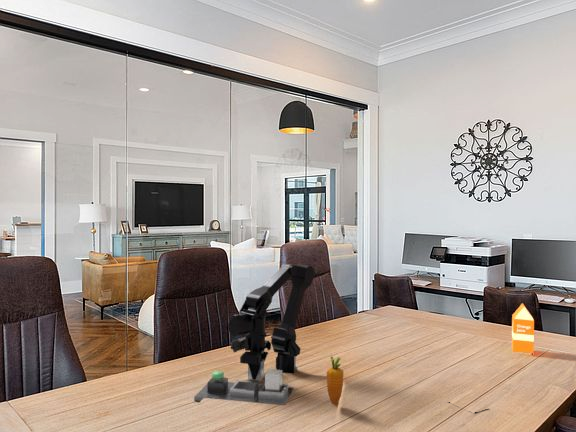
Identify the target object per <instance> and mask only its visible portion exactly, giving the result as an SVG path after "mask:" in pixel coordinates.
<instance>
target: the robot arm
mask: <svg viewBox="0 0 576 432" xmlns="http://www.w3.org/2000/svg"><path fill="white" fill-rule="evenodd" d="M315 275H316V271H315V270H314V267H313V266H312V265H306V264H291V263H283V264H282V265H281V266H280V267H279V269H278V270H277V271H276V272H275V273H274V274H273V275H272V276H271V277H270V278H269V279H267V281H266V282H265V283H264V284H263V285H262V286H260V287H258V288H256V289H254V290H253V291H251V292H249V293H248V294H247V295H246V297H245V300H244V301H243V304H242V306H241V308H240V309H239V312H238V313H239V314H235V313H234V314H232V318H231V319H230V320H229V321H228V324H227V325H228V328H227V329H228V332H229V334H230V335H231V336H233V337H238V336H242V335H245V336H244V337H241V338H237V339H233V340H232V341H231V343H230V349H231V350H232V351H233V353H237V352H238V351H242V350H244V351H245V352H243V353H242V354H241V355H240V356H239V363H240V364H245V365H246V364H247V366H248V365H249V368H250V371H251V375H252V379H256V377H257V375H258V372H259V369H260V366H261V364H262V361H263V360H261V359H264V363H265V361H266V359H267V357H268V354H269V351H271V349H273V352H274V353H277V356H276V358H275V370H282V374H295V373H296V370H297V366H296V365H297V364H296V363H297V357H298V355H300V354H301V350H302V348H301V347H300V346H299V345H298V344H297V342H296V340H297V334H296V333H297V332H296V328H295V327H296V324H297V320H298V317H299V313H300V310H301V307H302V303H303V299H304V296H305V292H306V290H307V289H308V288H309V287H310V286H311V285H312V283H313V281H314V278H315ZM289 280H290V281H291V285H292V287H291V290H290V294H289V297H288V301H287V304H286V308H285V310H284V314H283V316H282V320H281V324H280V325H279V326H277V327H276V326H275V327H274V328H273V330H272V335H271V336H270V339H271V341H270V340H266V336H267V332H266V317H269V316H271V314H270V313H269V312H268V311H267V309H269V307H270V306H271V303H272V302H273V297H274V295H275V294H276V293H278V291H279V290H280V289H281V288H282V287H283V286H284V285H286V283H287V282H288V281H289ZM266 349H267V351H265V350H266Z"/></svg>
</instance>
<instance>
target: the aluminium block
mask: <svg viewBox="0 0 576 432" xmlns="http://www.w3.org/2000/svg"><path fill="white" fill-rule="evenodd" d="M261 360H263V361H262V364H261V366H260V369H259V372H258V375H257V377H256V379H252V375H251V371H250V368H249V365H248V364H247V381H258V382H261V381H262V380H263V378H265V362H264V359H261Z"/></svg>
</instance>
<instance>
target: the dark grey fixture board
mask: <svg viewBox="0 0 576 432" xmlns="http://www.w3.org/2000/svg"><path fill="white" fill-rule="evenodd" d="M293 390H294V387H292V386H289V384H283V383H282V392H269V391H265V382H264V383H263V384H261V381H251V380H236V381H235V382H230V381H229V378H228V377H224V378H223V379H220V380H214V379H212V377H211V378H210V379H209V380H207V383H206V384H205V386H203V387H202V389H200V390H199V392H197V393H196V395H194V397H193V401H195V402H201V401H202V400H203V399H211V400H212V399H214V400H222V401H223V400H224V401H226V400H227V401H233V402H234V401H235V402H245V403H247V402H248V403H256V404H257V403H258V404H267V405H277V406H278V405H280V406H286V405H287V402H288V400H289V398H290V396H291V395H292V393H293Z"/></svg>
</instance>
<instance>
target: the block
mask: <svg viewBox="0 0 576 432" xmlns="http://www.w3.org/2000/svg"><path fill="white" fill-rule="evenodd" d="M264 379H265V380H264V383H265V391H269V392H282V384H283V373H282V370H277V369H276V368H275V369H274V368H268V369H267V371H266V372H264Z"/></svg>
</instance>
